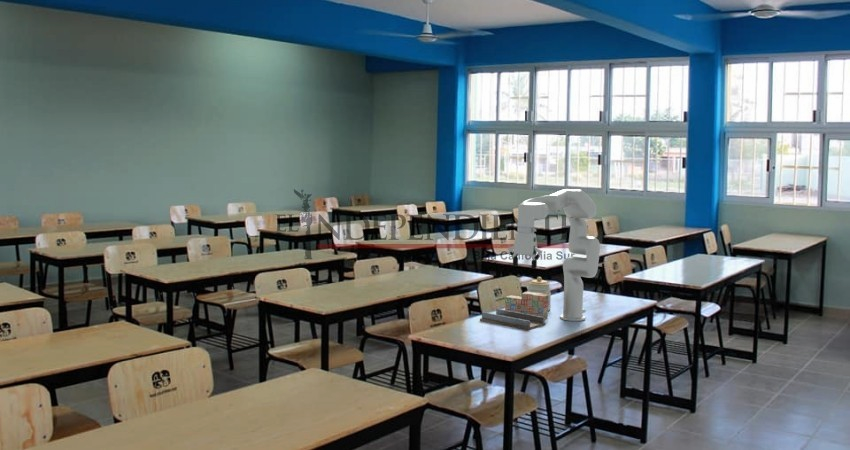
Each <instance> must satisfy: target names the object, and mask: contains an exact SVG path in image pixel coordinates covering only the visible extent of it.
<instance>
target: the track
mask: <svg viewBox="0 0 850 450" xmlns="http://www.w3.org/2000/svg"><path fill="white" fill-rule="evenodd" d="M479 321H480V322H484V323H485V322H486V323H491V324H496V325H500V326H503V327H504V326H506V327H509V328H516V329H519V330H525V331H529V330H533V329H535V328H539V327H543V326H546V324H547V323H546V322H545V319H544V317H540V316H535V315H529V314H524V313H519V312H513V311H508V310H505V309H502V308H496V310H495V313H491V312H487V311H486V312H485V311H482V312H481V318H479Z"/></svg>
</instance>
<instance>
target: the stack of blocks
mask: <svg viewBox="0 0 850 450" xmlns="http://www.w3.org/2000/svg"><path fill="white" fill-rule="evenodd" d="M504 299H505V303H504V304H505V305H504V308H505V309H504V310H508V311H513V312H519V313H524V314H529V315H535V316H540V317H544V320H546V319H548V314H549V313H548V294H543V293H534V292H528V291H524V292H522V293H521V296H518V295H507V296H505V298H504Z"/></svg>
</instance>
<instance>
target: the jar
mask: <svg viewBox="0 0 850 450" xmlns="http://www.w3.org/2000/svg"><path fill="white" fill-rule="evenodd" d="M550 285H551V284H550V282H548V281H547V280H544V279H543V278H542V277H541V276H537V278H536V279H532V280H531V281H529V282H528V285H527V286H526V289H527V292H534V293H543V294H548V311H550V310H551V308H552V307H551V306H552V305H551V303H552V302H551V301H552V299H551V296H552V293H551V290H552V287H551V286H550Z"/></svg>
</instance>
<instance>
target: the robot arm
mask: <svg viewBox="0 0 850 450" xmlns="http://www.w3.org/2000/svg"><path fill="white" fill-rule="evenodd" d="M560 210H563V213H564V214H565V216H566V217H567V219H568V222H569V225H570V227H569V238H568V251H569V253H571V254H575V255H582V256H585V257H581V256H568V257H565V259H564V260H563V263H562V269H563V280H564V281H563V283H564V284H563V285H564V286H563V308H562V309H563V311H562V314H560V315H559V319H560V320H563V321H569V322H570V321H571V322H580V321H582V322H583V321H586V316H584V313H586V312H587V311H586V309H585V308H583V307H584V301H583V300H584V281H583V280H582V278H586V279H587V278H588V279H589V278H590V279H591V278H594V277H595V276H596V275H597V273H598V269H599V262H600V261H599V260H600V254H601V253H600V252H601V244H600V241H599V239H598V238H597V237H595V236H589V235H588V223H587V221H586V219H592V218H594V217H595V216H596V215H597V211H598V210H597V205H596V203H595V202H594V201H593V200H592V198H591V197H590V196H589V195H588V194H587V193H586V192H585V191H583V190H582V189H569V188H565V189H561V190H558V191H556V192H554V193H551V194H547V195H542V196H538V197H537V196H536V197H532V198H528V199H526V200H524V201H522V202H521V203H519V204H518V207H517V232H515V238H514V243H513V245H512V246H509V247H508V248H507V249H508V251H509V255H511V258H512V267H514V268H515V267H518V266H519V257H518V256H519V255H521V256H530V257H531V259H532V260H531V269H532V270H534V269H536V268H537V265H538V262H537V261H538V259H539V258H540V257H541V255H542V253H543V250H542V249H540V248H538V241H537V235H536V233H535V232H537V228H535V219H536V220H543V219H545V218H546V217H547V216H548V215H549V213H555V212H558V211H560ZM581 277H582V278H581Z"/></svg>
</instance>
